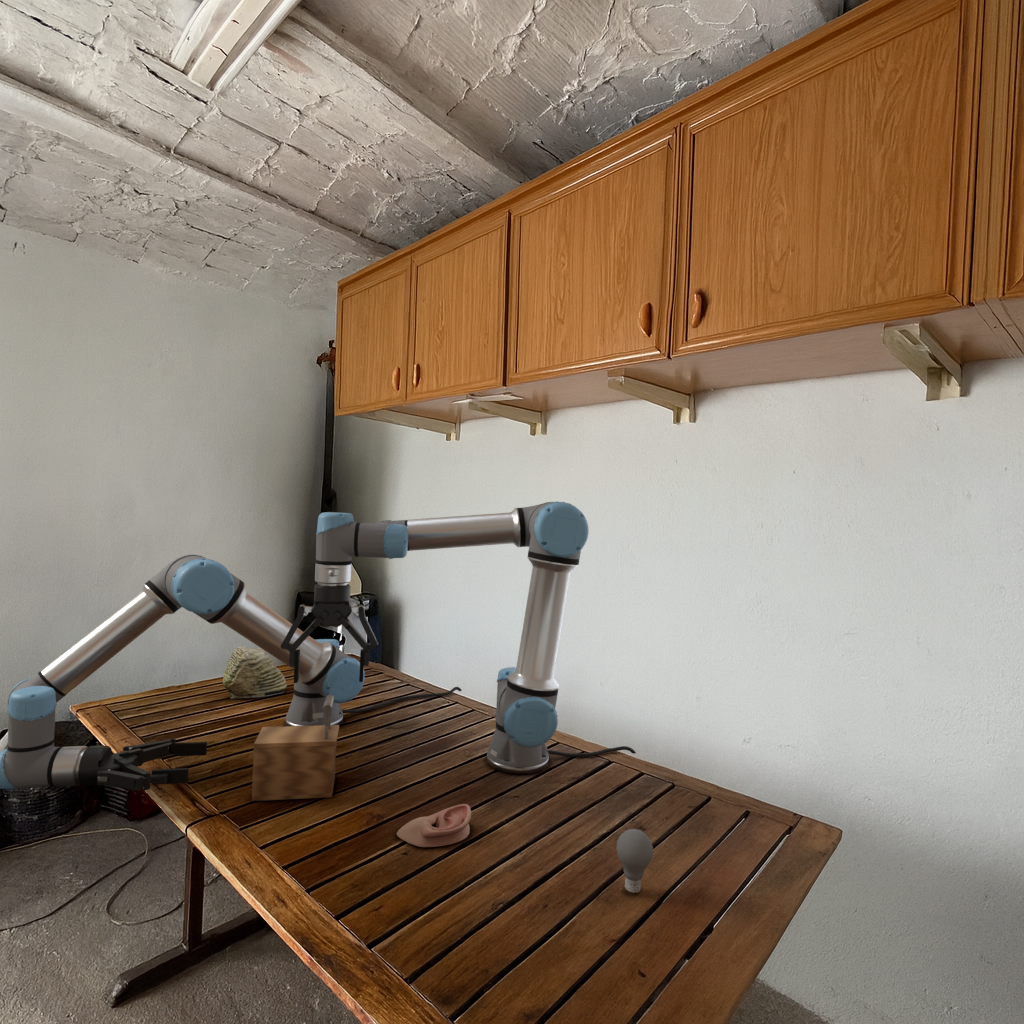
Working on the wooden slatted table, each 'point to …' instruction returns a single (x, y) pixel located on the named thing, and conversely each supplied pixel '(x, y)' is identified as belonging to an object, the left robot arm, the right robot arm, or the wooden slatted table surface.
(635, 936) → the wooden slatted table surface
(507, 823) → the wooden slatted table surface
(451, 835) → the anatomical model
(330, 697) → the lid
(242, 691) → the fossil
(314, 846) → the wooden slatted table surface
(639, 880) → the light bulb
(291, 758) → the chest
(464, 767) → the wooden slatted table surface
